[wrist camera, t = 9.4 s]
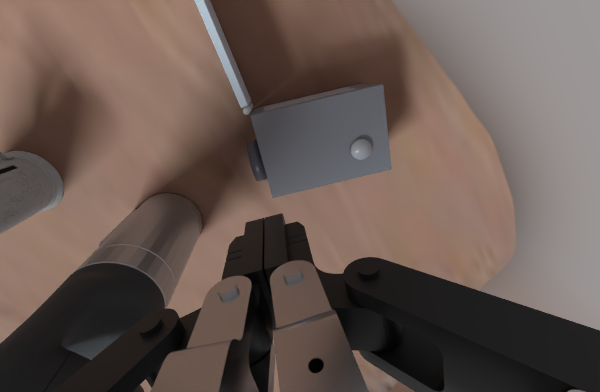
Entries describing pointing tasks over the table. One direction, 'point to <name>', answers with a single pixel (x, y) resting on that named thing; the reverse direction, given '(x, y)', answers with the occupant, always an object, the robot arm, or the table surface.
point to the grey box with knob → (320, 139)
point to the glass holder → (26, 187)
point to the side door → (225, 54)
